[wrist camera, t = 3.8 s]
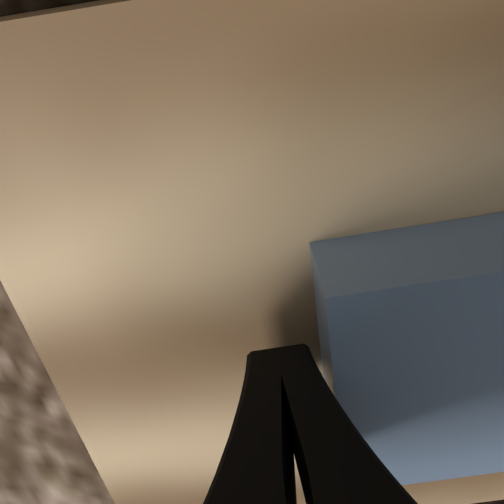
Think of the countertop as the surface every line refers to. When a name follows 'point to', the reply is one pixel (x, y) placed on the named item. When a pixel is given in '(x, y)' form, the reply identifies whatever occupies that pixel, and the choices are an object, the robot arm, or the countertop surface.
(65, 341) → the board
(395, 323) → the blue flat block
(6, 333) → the countertop surface
